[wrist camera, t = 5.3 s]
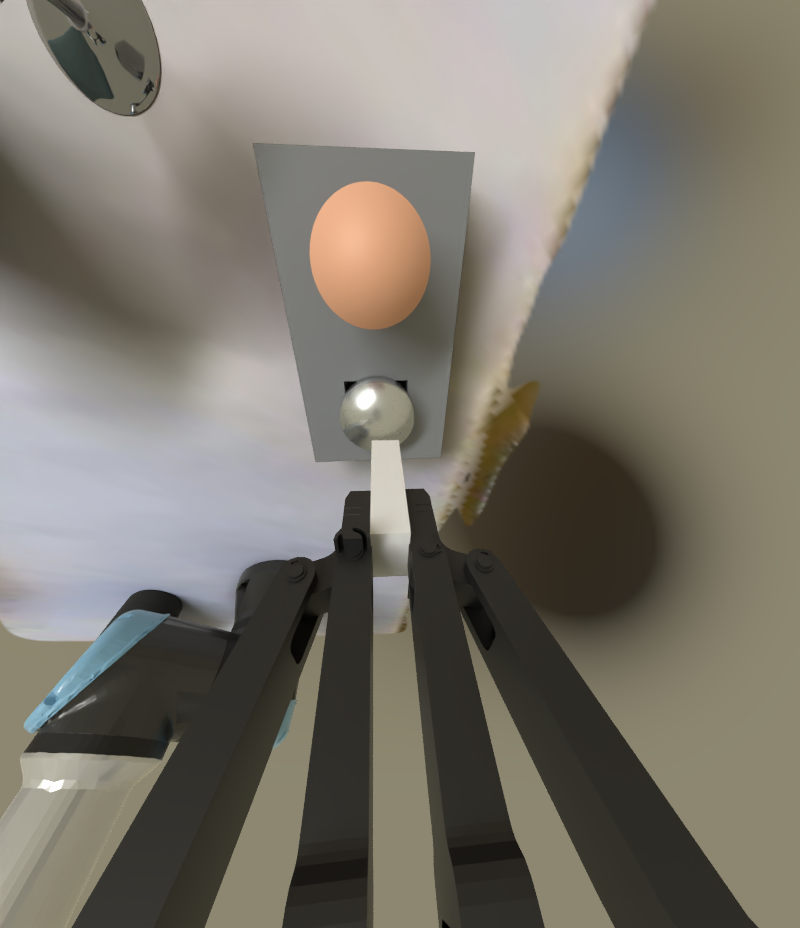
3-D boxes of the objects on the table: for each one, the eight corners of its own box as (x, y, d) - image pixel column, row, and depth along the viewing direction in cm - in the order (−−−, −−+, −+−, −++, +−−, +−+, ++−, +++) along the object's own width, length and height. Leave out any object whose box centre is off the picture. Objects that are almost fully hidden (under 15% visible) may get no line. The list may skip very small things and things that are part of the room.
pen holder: (126, 583, 50) (79, 645, 42) (186, 592, 53) (153, 652, 45) (129, 610, 55) (87, 671, 47) (184, 617, 58) (154, 675, 50)
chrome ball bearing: (406, 418, 35) (413, 449, 29) (348, 420, 34) (343, 452, 29) (407, 360, 31) (416, 382, 25) (342, 360, 30) (335, 383, 25)
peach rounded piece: (413, 313, 25) (426, 329, 19) (331, 313, 24) (319, 329, 18) (417, 204, 21) (435, 183, 15) (319, 202, 20) (298, 178, 14)
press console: (431, 431, 37) (440, 457, 32) (323, 435, 36) (315, 462, 31) (453, 174, 23) (474, 152, 19) (278, 168, 22) (252, 142, 18)
